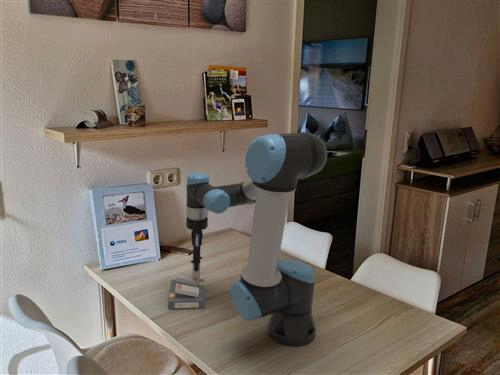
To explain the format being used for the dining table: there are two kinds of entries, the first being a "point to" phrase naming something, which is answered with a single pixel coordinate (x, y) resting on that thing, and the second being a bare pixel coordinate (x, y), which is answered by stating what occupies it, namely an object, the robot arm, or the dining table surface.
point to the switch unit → (186, 297)
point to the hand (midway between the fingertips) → (196, 277)
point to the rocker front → (186, 290)
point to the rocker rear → (187, 279)
